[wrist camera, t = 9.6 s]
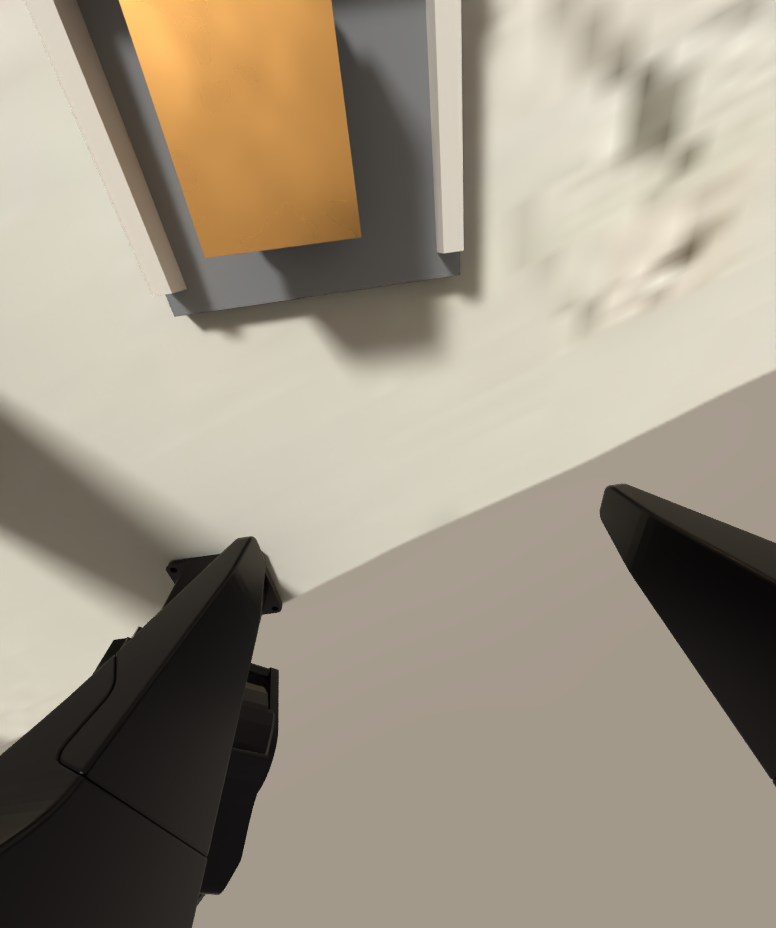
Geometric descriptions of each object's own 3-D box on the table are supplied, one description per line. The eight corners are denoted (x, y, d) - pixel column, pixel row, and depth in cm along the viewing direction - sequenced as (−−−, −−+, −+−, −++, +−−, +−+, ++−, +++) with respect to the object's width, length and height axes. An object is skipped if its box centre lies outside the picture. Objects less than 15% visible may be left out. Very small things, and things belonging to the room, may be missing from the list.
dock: (455, 272, 17) (471, 278, 14) (183, 312, 17) (153, 325, 15) (446, -125, 11) (472, -232, 9) (34, -60, 11) (-61, -148, 9)
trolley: (360, 237, 15) (361, 236, 11) (247, 253, 15) (205, 258, 11) (327, -21, 11) (309, -174, 7) (177, -1, 11) (71, -142, 7)
